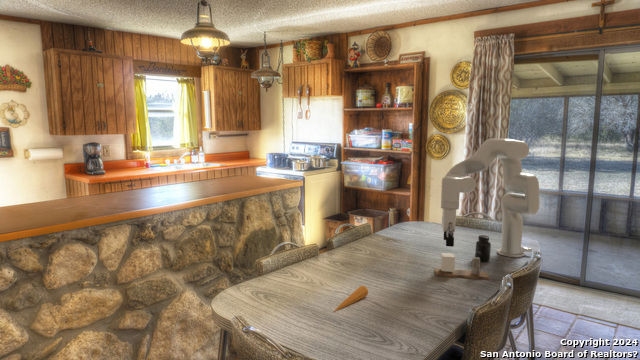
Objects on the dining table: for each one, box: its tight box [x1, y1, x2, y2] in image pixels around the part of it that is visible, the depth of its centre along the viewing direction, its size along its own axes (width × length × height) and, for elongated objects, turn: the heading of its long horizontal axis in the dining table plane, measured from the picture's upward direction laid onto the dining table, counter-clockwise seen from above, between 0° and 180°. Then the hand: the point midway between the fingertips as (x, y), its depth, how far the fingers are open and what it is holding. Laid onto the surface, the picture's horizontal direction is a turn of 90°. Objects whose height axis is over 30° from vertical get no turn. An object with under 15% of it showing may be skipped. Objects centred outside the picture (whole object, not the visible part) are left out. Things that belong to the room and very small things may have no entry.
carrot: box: [334, 285, 369, 312], centre depth 151 cm, size 20×4×4 cm, turn 139°
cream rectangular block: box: [440, 252, 456, 272], centre depth 181 cm, size 5×5×7 cm
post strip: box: [434, 256, 490, 280], centre depth 180 cm, size 22×7×8 cm, turn 79°
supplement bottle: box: [474, 234, 492, 263], centre depth 199 cm, size 7×7×12 cm
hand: (448, 243), depth 179 cm, fingers open, 9 cm apart
